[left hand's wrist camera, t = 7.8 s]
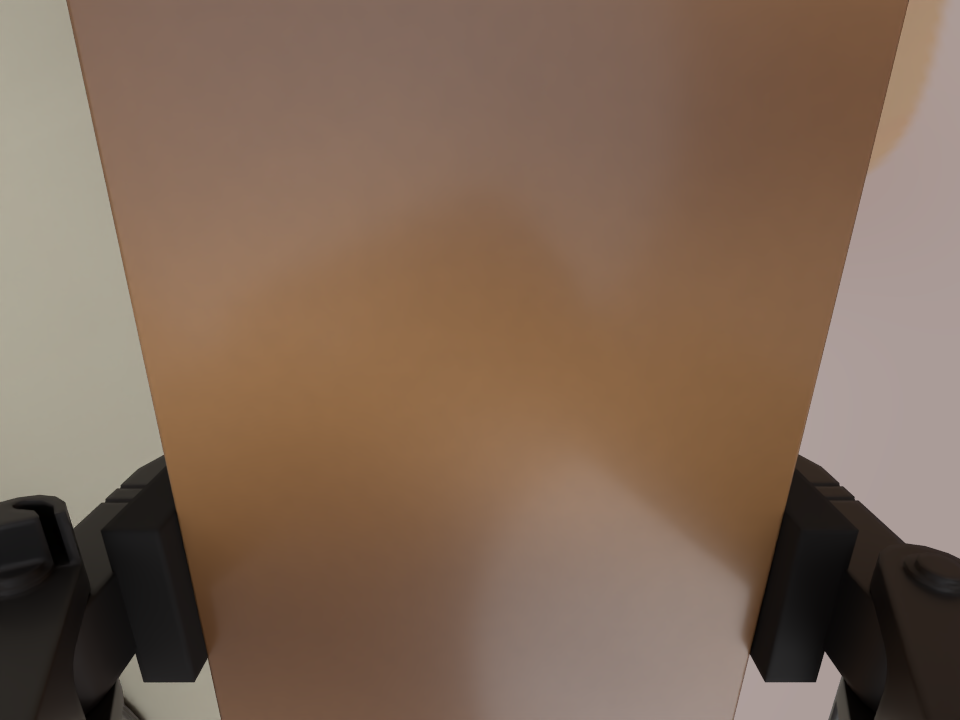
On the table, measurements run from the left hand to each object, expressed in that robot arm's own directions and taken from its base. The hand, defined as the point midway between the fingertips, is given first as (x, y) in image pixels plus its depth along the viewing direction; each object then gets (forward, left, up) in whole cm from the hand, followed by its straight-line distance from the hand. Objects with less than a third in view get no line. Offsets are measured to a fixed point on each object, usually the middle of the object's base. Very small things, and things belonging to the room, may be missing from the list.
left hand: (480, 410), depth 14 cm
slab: (+34, 0, -1) cm, 34 cm away
